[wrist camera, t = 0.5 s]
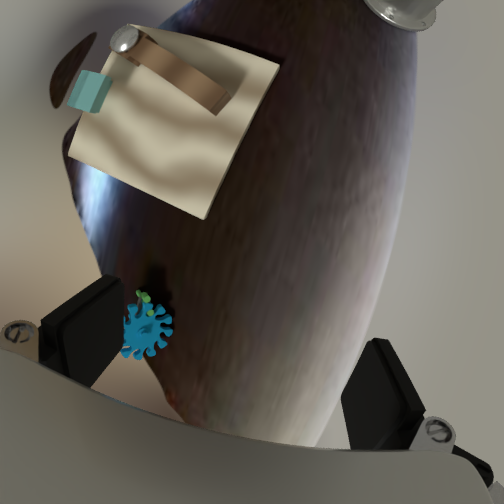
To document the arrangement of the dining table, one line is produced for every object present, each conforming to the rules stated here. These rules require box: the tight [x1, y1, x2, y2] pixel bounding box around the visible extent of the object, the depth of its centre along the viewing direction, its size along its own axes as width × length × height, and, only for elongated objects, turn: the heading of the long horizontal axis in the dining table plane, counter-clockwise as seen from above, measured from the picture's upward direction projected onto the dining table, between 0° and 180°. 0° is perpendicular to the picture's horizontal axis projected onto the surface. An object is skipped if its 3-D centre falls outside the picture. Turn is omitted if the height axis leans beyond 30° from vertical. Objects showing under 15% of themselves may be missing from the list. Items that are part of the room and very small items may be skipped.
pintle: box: [110, 25, 140, 53], centre depth 28 cm, size 4×4×5 cm
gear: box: [120, 290, 173, 360], centre depth 40 cm, size 11×6×10 cm
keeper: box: [67, 70, 113, 114], centre depth 30 cm, size 5×4×6 cm
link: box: [109, 24, 232, 116], centre depth 29 cm, size 18×4×4 cm, turn 50°
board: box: [68, 24, 279, 220], centre depth 33 cm, size 22×24×2 cm
